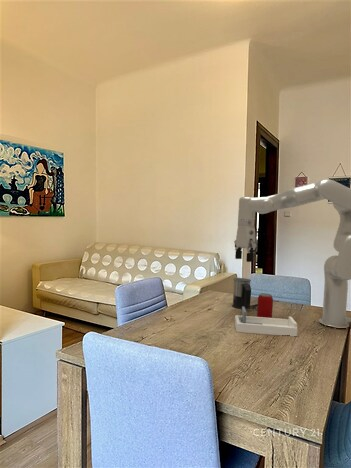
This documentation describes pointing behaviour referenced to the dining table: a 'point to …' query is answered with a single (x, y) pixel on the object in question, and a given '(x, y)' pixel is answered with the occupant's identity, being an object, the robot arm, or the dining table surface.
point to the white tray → (267, 326)
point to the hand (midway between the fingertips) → (243, 260)
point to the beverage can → (265, 305)
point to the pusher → (245, 317)
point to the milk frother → (242, 293)
